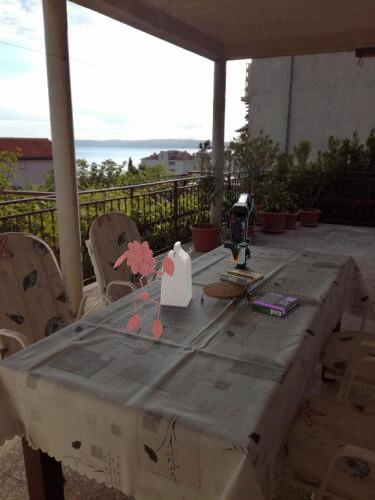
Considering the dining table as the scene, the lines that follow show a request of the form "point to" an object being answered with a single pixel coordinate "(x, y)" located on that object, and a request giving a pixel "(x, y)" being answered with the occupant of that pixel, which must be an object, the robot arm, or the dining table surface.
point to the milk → (177, 279)
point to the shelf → (240, 276)
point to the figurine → (142, 263)
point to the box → (274, 303)
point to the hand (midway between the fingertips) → (237, 259)
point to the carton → (239, 256)
